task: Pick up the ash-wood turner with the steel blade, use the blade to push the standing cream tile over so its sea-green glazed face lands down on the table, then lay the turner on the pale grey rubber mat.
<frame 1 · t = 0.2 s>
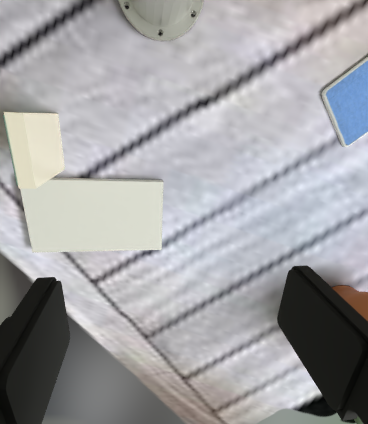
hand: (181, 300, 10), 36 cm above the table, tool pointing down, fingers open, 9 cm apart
tile: (55, 142, 40), on the table
potted plant: (327, 302, 64), on the table
rest mat: (98, 214, 46), on the table
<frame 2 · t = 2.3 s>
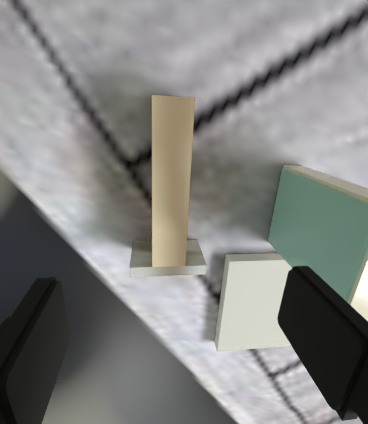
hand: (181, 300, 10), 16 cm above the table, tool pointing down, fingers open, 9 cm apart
tile: (284, 205, 27), on the table
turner: (166, 187, 24), on the table
rest mat: (306, 297, 32), on the table
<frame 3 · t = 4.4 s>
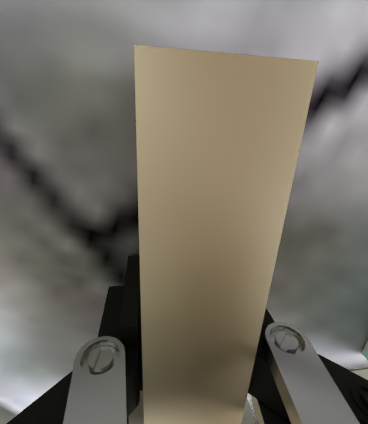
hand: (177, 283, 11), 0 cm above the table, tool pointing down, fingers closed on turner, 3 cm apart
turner: (177, 278, 11), on the table, touching gripper
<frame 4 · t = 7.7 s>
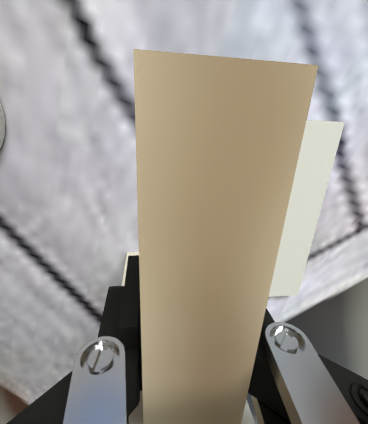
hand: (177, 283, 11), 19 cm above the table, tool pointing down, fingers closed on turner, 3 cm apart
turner: (177, 280, 11), point 19 cm above the table, touching gripper
rest mat: (261, 216, 32), on the table
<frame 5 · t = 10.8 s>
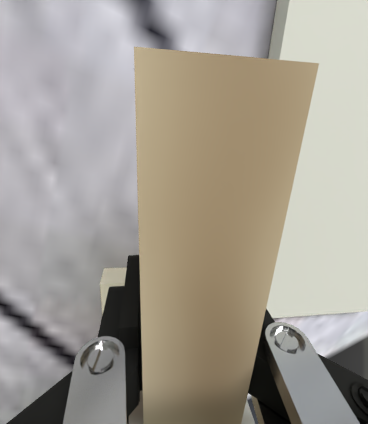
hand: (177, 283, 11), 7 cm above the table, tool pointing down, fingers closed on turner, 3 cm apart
tile: (163, 272, 18), point 1 cm above the table, tilted 90°
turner: (177, 279, 11), point 7 cm above the table, touching gripper
rest mat: (336, 178, 18), on the table
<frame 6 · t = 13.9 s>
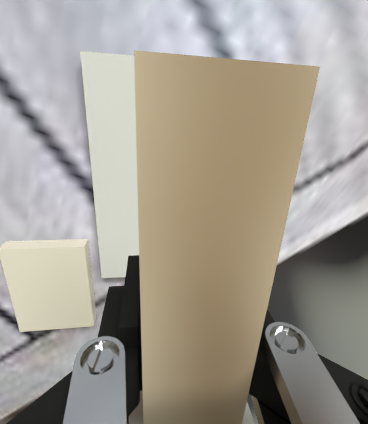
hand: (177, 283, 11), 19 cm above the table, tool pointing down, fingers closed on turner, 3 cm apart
tile: (45, 243, 28), point 1 cm above the table, tilted 90°
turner: (177, 281, 11), point 18 cm above the table, touching gripper
rest mat: (158, 181, 28), on the table
when the fingers open (3 cm above the table, at t = 16.8 s): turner drops 1 cm, resting on rest mat.
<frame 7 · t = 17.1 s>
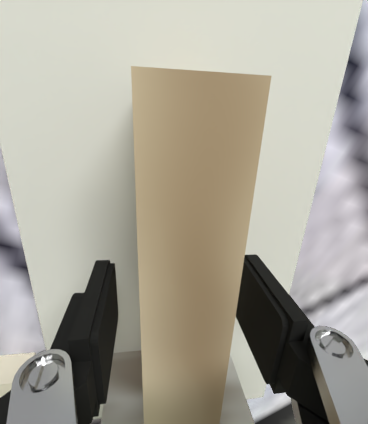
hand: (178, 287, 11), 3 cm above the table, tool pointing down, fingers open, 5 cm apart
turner: (172, 263, 13), point 1 cm above the table, touching rest mat
rest mat: (171, 247, 14), on the table
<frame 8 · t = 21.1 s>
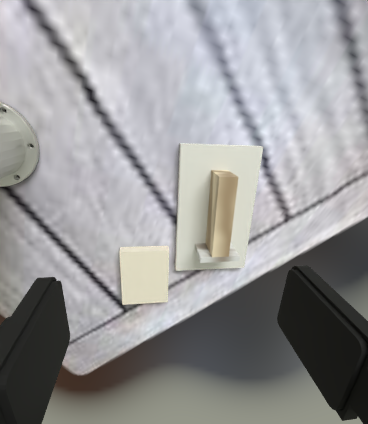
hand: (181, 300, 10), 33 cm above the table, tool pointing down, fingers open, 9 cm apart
tile: (144, 248, 45), point 1 cm above the table, tilted 90°
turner: (215, 213, 44), point 1 cm above the table, touching rest mat
rest mat: (214, 210, 46), on the table
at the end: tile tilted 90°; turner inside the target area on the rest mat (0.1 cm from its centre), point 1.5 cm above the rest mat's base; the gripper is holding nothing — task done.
